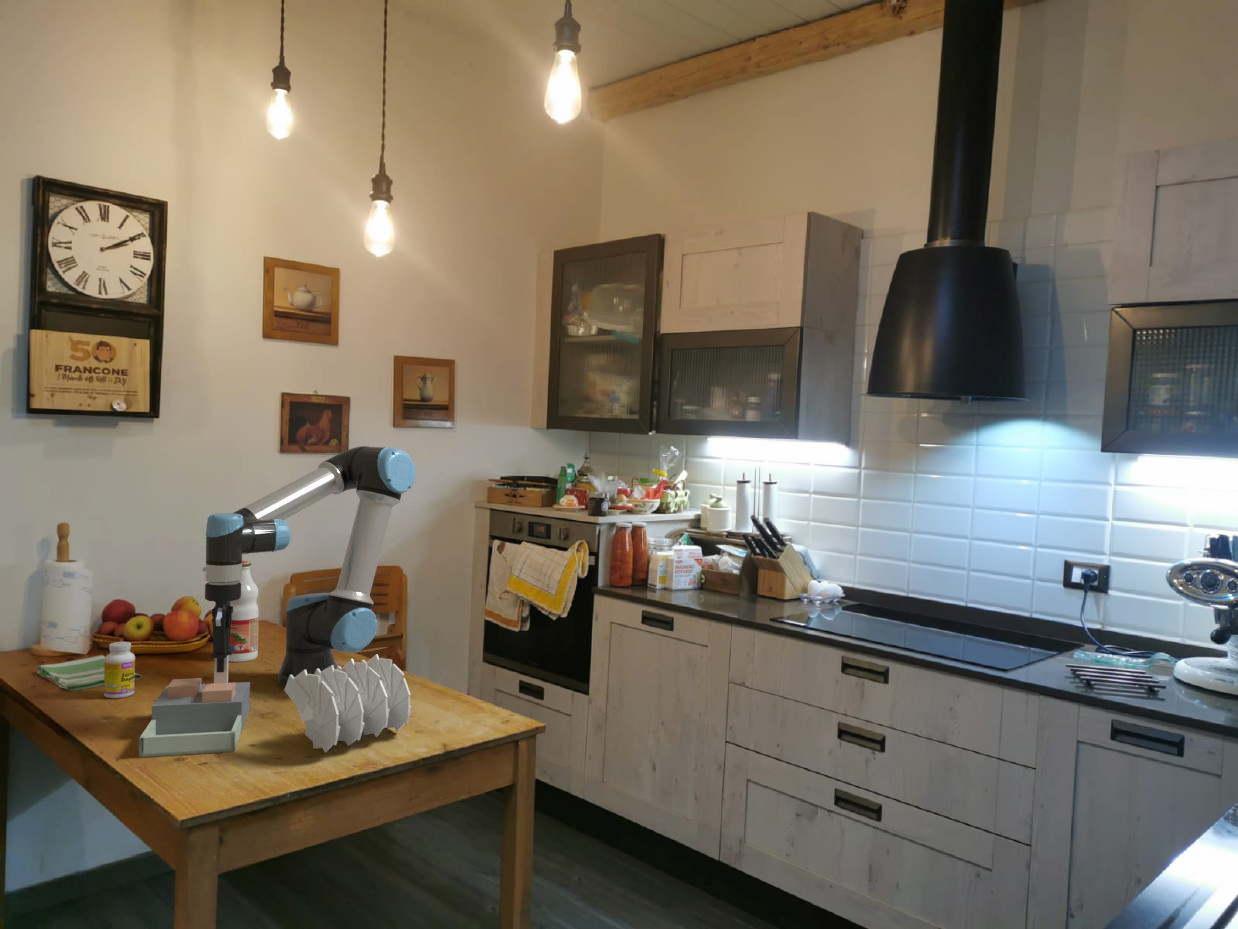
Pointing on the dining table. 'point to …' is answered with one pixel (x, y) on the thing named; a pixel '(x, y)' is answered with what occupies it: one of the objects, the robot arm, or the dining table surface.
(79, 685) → the dish towel
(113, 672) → the supplement bottle
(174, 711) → the slate step
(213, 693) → the terracotta tile
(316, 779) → the dining table surface
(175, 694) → the terracotta tile
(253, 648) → the fruit juice
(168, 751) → the sage tray
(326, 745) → the spiral staircase
